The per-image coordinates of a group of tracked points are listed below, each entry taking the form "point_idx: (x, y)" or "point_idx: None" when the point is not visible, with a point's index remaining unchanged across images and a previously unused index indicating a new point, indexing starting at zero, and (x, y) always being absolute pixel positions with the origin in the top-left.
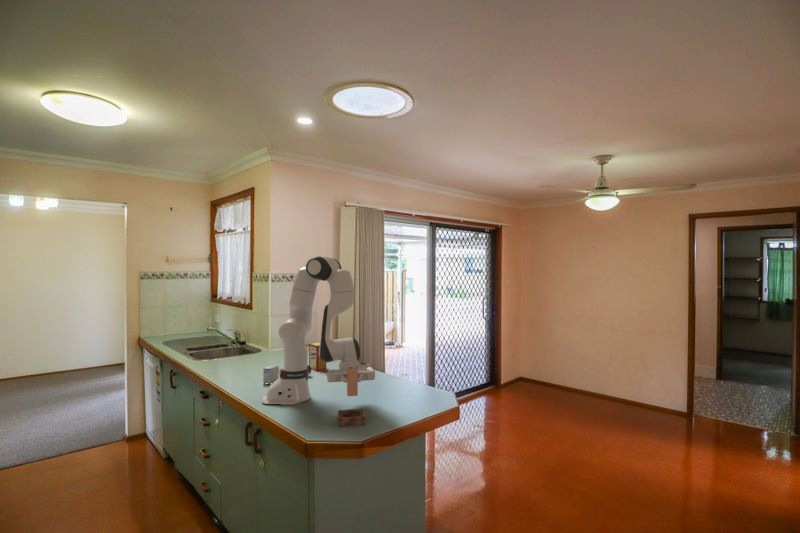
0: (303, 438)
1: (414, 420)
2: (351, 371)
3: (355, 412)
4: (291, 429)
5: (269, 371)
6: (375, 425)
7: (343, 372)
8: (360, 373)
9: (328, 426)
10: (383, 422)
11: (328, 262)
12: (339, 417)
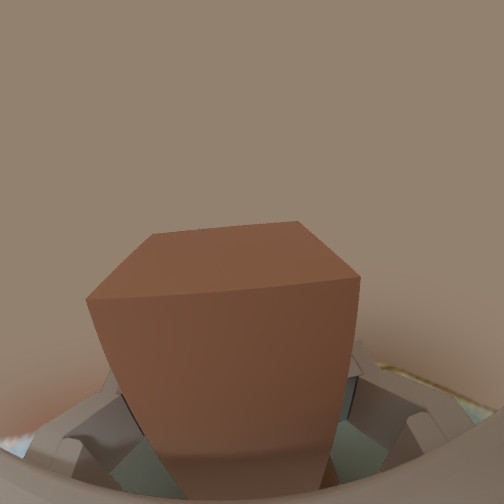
0: (416, 376)
1: (20, 443)
2: (244, 225)
3: None
4: (486, 412)
5: None
6: (156, 463)
7: (488, 489)
8: (35, 466)
9: (374, 466)
10: (114, 478)
11: None
12: (332, 469)
